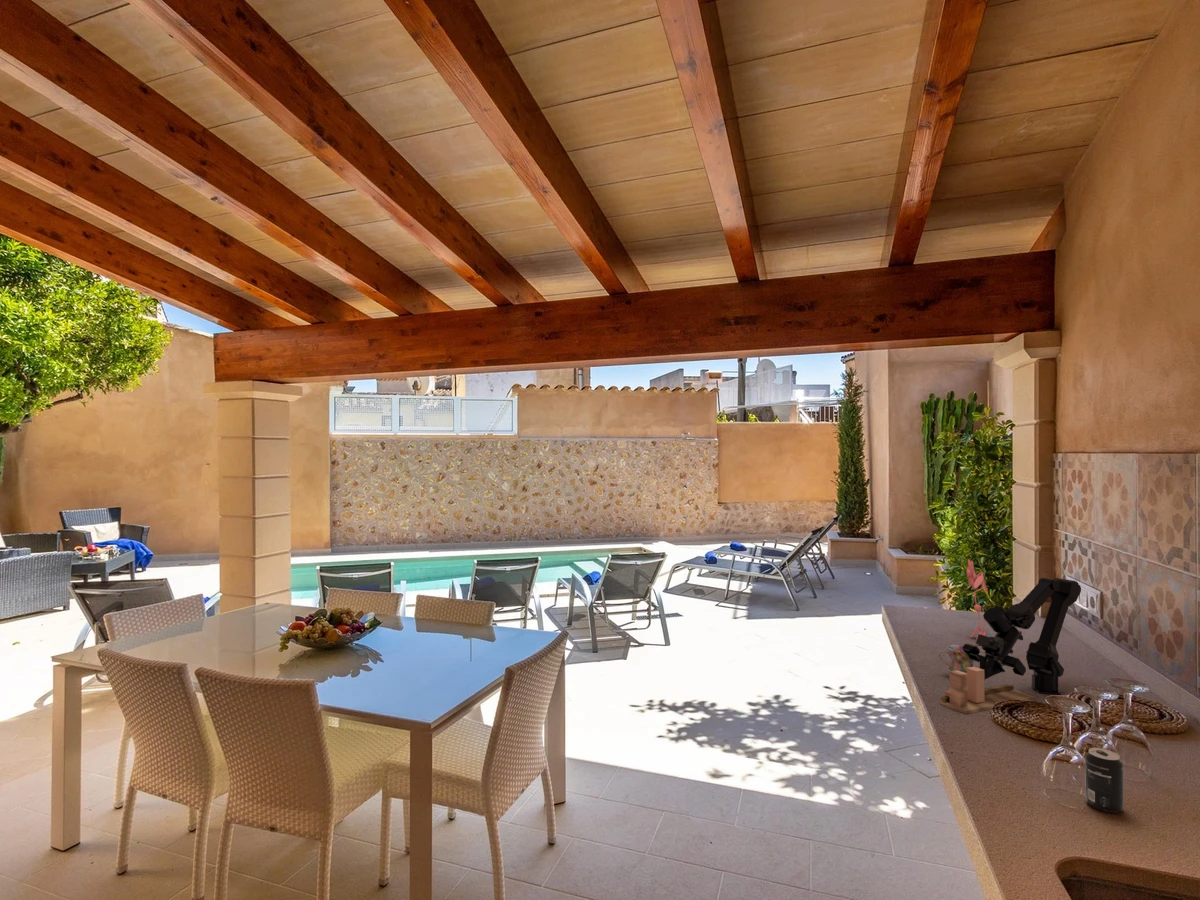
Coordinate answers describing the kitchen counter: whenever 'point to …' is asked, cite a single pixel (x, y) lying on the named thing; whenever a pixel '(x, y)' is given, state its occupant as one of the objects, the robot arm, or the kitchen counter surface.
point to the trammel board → (959, 702)
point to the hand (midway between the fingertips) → (979, 679)
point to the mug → (958, 659)
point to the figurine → (977, 583)
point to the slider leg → (975, 684)
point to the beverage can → (1104, 780)
